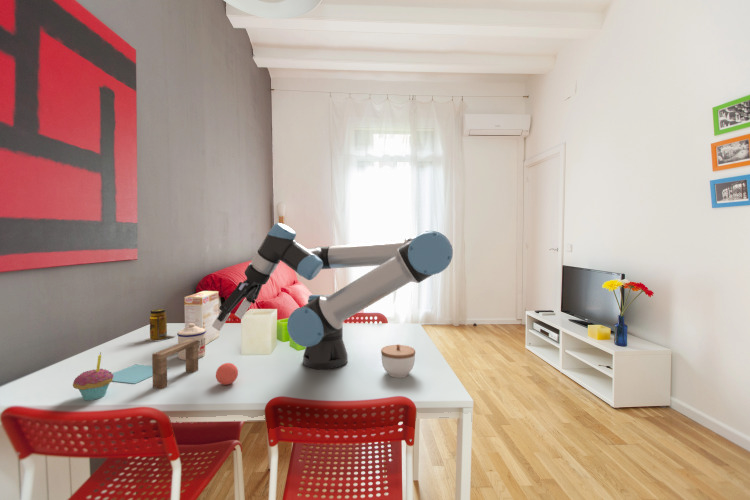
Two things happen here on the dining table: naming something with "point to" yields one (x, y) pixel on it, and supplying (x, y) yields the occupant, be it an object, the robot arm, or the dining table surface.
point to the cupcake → (93, 382)
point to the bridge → (161, 361)
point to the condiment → (158, 325)
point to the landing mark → (133, 374)
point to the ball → (226, 373)
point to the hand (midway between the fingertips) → (227, 322)
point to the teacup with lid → (193, 334)
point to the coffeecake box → (203, 312)
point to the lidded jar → (398, 360)
